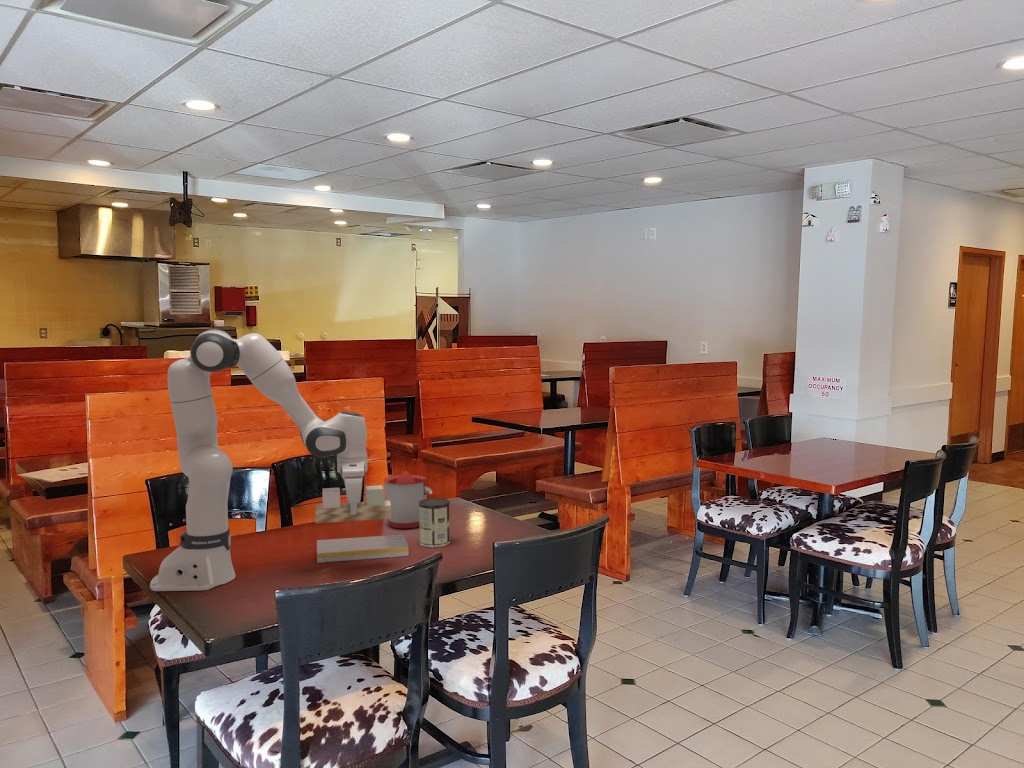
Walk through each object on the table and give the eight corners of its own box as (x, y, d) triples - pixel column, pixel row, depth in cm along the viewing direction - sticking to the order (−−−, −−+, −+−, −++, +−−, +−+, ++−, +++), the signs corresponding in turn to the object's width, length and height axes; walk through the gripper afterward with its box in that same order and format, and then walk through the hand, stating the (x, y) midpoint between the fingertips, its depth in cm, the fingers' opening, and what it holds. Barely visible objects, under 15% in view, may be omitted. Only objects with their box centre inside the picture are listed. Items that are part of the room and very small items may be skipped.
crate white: (322, 508, 225) (322, 492, 224) (323, 504, 230) (322, 488, 229) (340, 507, 226) (339, 491, 225) (340, 503, 231) (339, 487, 230)
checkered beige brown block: (315, 523, 224) (315, 509, 224) (315, 518, 230) (315, 504, 229) (391, 518, 229) (391, 505, 229) (389, 513, 235) (389, 500, 235)
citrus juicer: (429, 531, 269) (428, 475, 267) (380, 530, 270) (379, 475, 268) (435, 519, 285) (434, 466, 283) (388, 519, 285) (387, 466, 283)
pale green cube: (366, 506, 228) (366, 489, 227) (365, 502, 232) (365, 486, 232) (383, 505, 229) (383, 488, 228) (382, 501, 234) (382, 485, 233)
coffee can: (431, 536, 262) (430, 496, 261) (455, 541, 257) (455, 500, 256) (412, 544, 254) (412, 502, 252) (437, 549, 248) (437, 506, 247)
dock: (317, 563, 234) (316, 553, 234) (317, 549, 248) (317, 540, 248) (408, 556, 241) (408, 546, 241) (403, 543, 255) (403, 534, 255)
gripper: (340, 459, 237) (341, 503, 239) (342, 472, 218) (343, 520, 219) (361, 458, 239) (362, 502, 240) (364, 471, 219) (365, 518, 220)
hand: (353, 511), depth 229 cm, fingers closed on checkered beige brown block, 6 cm apart
